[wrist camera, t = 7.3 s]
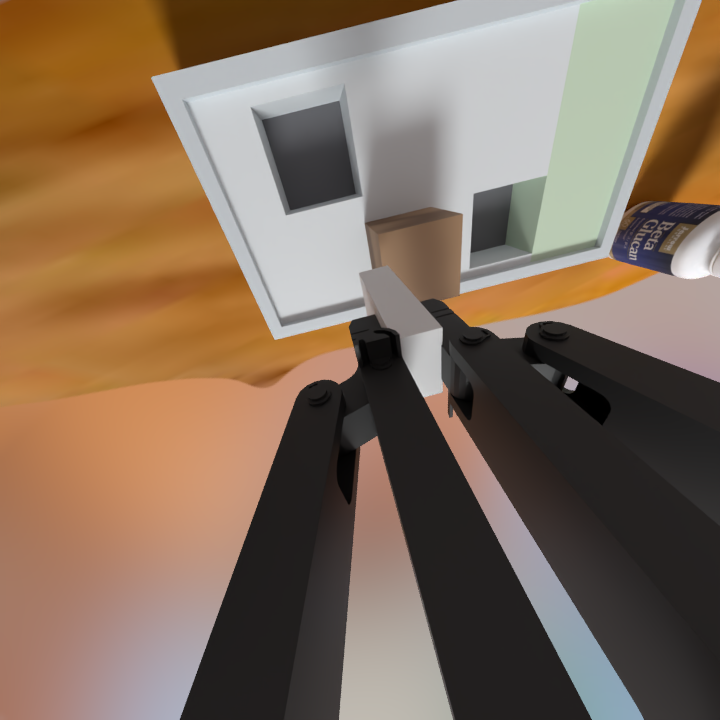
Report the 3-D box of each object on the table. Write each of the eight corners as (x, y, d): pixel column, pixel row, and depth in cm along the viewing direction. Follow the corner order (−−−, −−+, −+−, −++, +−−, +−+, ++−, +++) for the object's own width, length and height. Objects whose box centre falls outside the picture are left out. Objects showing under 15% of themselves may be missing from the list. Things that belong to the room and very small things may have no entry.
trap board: (280, 317, 26) (274, 339, 22) (187, 100, 17) (150, 77, 13) (565, 246, 26) (607, 256, 22) (634, -12, 17) (726, -68, 13)
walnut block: (375, 288, 22) (388, 312, 17) (364, 223, 19) (377, 234, 15) (432, 274, 22) (459, 295, 17) (430, 206, 19) (462, 213, 15)
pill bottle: (609, 212, 25) (748, 226, 17) (666, 192, 24) (835, 197, 16) (596, 266, 28) (707, 300, 20) (646, 249, 27) (779, 276, 20)
